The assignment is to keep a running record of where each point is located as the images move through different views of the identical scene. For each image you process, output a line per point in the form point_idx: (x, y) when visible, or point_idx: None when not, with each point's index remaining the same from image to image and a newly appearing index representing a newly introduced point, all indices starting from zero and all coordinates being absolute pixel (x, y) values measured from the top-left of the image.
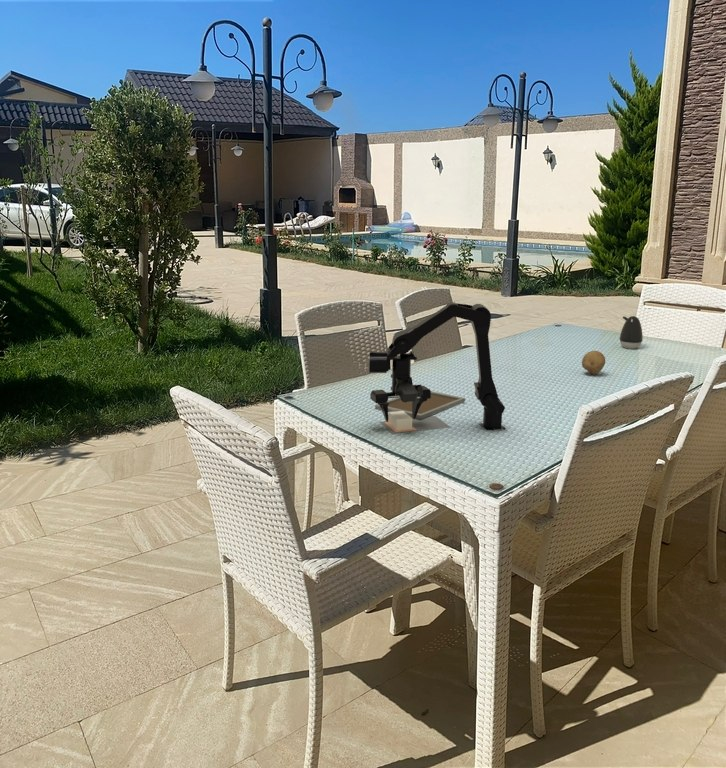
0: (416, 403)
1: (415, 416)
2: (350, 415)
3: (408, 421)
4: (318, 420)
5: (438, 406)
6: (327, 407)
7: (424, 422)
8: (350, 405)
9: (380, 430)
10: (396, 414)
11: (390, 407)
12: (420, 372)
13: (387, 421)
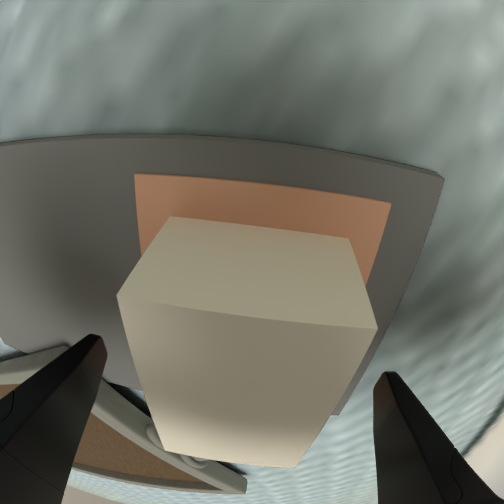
0: (3, 465)
1: (75, 347)
2: (367, 467)
3: (189, 277)
4: (479, 442)
5: (7, 393)
6: (369, 493)
7: (46, 302)
8: (300, 496)
9: (420, 321)
10: (260, 437)
11: (195, 475)
12: (75, 482)
13: (393, 374)
